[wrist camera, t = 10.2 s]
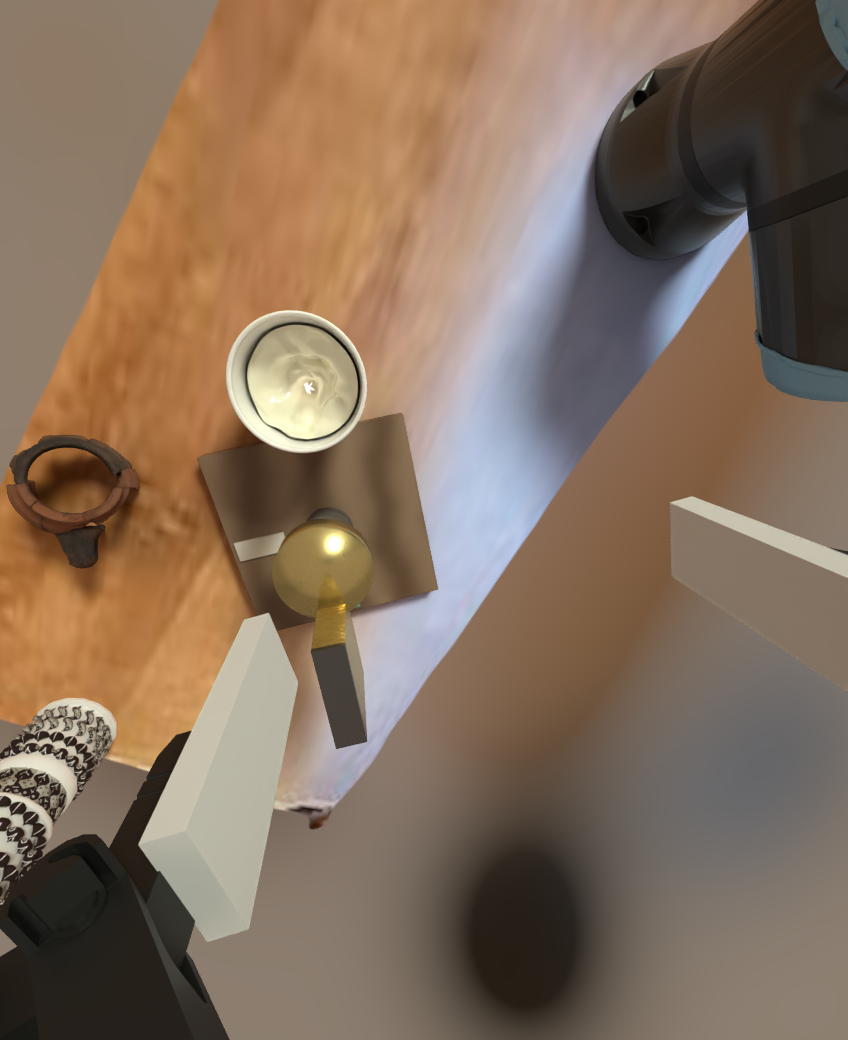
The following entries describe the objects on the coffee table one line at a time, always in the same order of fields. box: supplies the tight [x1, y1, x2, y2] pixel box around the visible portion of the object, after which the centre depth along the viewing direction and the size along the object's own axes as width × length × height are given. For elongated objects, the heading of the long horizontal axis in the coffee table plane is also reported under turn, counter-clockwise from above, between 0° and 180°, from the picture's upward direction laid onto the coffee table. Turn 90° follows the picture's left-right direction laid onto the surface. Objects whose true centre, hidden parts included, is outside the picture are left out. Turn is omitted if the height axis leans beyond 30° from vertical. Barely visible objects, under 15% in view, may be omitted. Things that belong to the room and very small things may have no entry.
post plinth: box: [197, 413, 438, 631], centre depth 42 cm, size 20×20×10 cm
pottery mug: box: [6, 435, 139, 568], centre depth 40 cm, size 12×10×8 cm
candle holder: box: [226, 310, 367, 453], centre depth 36 cm, size 10×10×12 cm
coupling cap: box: [272, 519, 373, 749], centre depth 34 cm, size 16×8×8 cm, turn 8°
